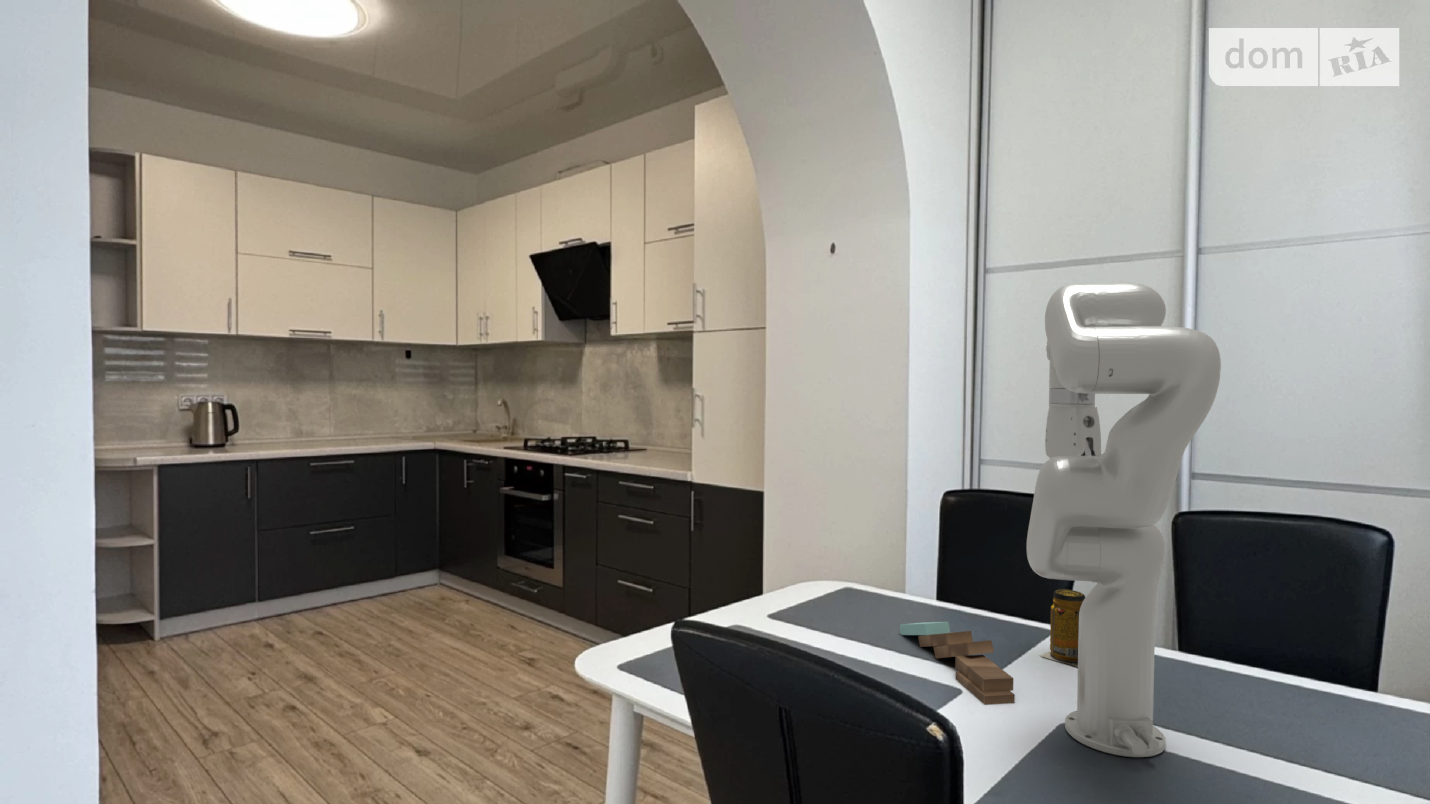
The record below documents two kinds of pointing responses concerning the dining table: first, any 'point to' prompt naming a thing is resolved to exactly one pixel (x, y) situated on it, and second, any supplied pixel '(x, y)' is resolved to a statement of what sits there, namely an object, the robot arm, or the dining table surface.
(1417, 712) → the dining table surface
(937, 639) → the domino
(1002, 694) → the domino
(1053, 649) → the condiment
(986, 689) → the domino
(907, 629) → the domino
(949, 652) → the domino
